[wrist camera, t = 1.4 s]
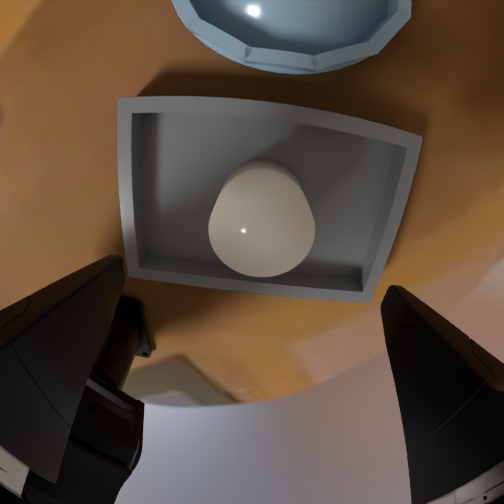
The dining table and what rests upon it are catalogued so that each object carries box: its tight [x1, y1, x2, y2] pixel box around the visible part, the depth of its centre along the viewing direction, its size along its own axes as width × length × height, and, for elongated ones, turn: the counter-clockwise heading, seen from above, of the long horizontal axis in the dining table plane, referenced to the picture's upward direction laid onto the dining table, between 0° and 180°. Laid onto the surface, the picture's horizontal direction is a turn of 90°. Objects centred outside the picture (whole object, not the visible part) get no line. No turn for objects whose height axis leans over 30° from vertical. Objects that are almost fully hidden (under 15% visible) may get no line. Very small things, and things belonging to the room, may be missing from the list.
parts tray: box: [117, 96, 423, 303], centre depth 15 cm, size 10×15×2 cm
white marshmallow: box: [208, 159, 315, 277], centre depth 14 cm, size 4×4×4 cm
